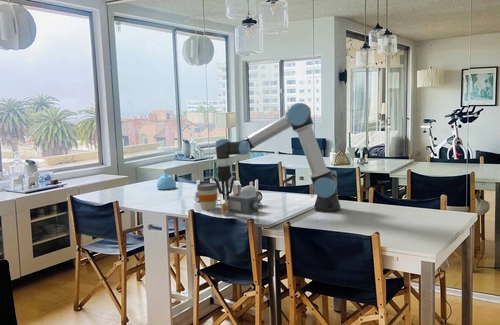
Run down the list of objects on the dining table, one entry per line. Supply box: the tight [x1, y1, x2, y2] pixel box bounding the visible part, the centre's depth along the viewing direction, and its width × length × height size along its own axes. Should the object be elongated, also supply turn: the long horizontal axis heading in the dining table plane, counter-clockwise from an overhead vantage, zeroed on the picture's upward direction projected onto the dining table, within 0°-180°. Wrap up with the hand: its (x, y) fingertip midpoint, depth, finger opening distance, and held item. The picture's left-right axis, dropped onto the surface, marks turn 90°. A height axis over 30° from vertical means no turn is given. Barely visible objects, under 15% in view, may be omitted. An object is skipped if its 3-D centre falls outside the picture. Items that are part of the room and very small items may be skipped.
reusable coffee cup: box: [196, 182, 218, 211], centre depth 292 cm, size 13×12×15 cm
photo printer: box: [240, 185, 257, 196], centre depth 296 cm, size 10×4×12 cm, turn 123°
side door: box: [221, 200, 229, 215], centre depth 277 cm, size 11×1×6 cm, turn 163°
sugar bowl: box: [156, 173, 177, 190], centre depth 368 cm, size 15×15×12 cm
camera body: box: [227, 192, 260, 215], centre depth 280 cm, size 18×9×10 cm, turn 51°
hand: (226, 205), depth 275 cm, fingers closed
